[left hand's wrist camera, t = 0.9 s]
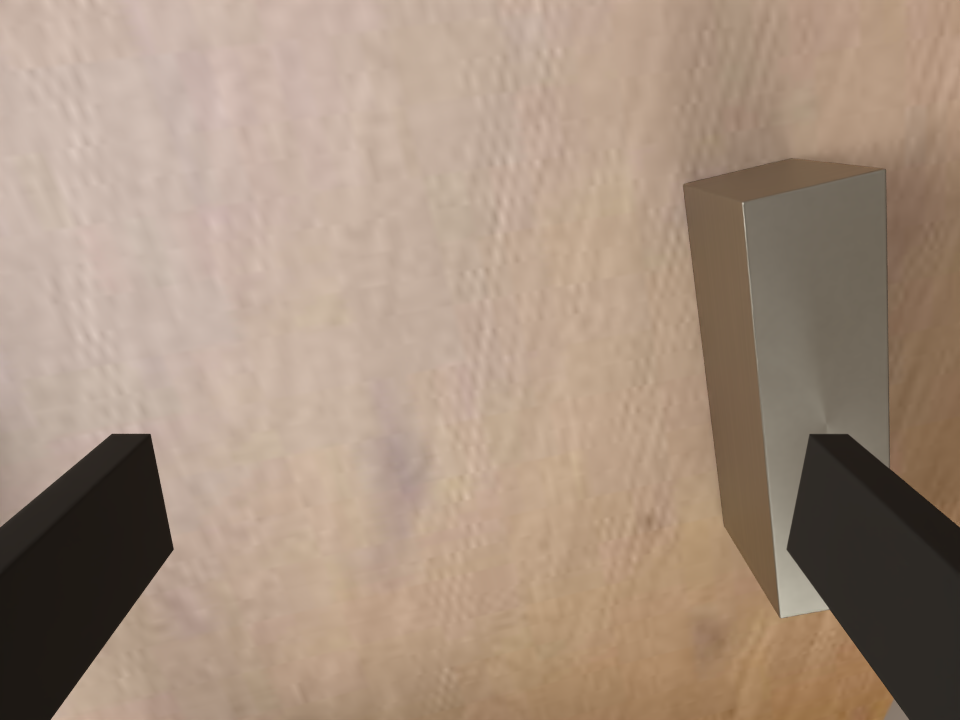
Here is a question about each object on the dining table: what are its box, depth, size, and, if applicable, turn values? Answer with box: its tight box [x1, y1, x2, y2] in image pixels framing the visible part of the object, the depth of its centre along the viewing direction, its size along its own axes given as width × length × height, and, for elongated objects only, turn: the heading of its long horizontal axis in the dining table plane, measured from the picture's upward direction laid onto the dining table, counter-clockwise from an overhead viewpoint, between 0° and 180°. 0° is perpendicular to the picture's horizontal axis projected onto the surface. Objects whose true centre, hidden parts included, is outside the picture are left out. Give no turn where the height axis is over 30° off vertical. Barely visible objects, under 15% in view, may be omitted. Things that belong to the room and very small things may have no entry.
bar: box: [683, 158, 890, 618], centre depth 32 cm, size 21×6×8 cm, turn 13°
